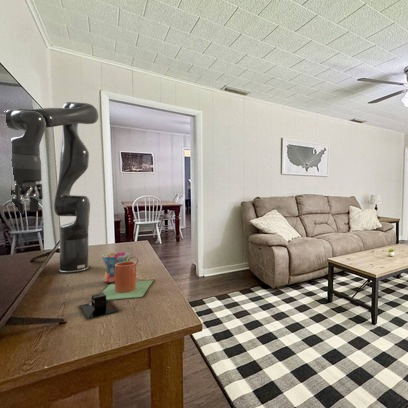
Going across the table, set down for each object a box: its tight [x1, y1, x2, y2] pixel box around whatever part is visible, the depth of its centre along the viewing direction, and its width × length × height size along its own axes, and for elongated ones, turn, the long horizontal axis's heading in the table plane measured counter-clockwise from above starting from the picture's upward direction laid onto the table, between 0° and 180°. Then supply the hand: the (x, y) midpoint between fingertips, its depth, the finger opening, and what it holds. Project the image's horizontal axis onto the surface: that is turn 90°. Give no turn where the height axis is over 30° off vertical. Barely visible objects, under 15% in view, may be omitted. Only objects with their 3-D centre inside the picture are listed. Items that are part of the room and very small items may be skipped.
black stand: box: [80, 292, 119, 320], centre depth 90 cm, size 12×7×5 cm, turn 51°
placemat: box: [100, 279, 154, 301], centre depth 106 cm, size 18×14×1 cm
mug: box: [101, 252, 140, 284], centre depth 115 cm, size 12×9×11 cm
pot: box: [114, 261, 137, 293], centre depth 105 cm, size 6×6×10 cm
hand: (27, 212), depth 101 cm, fingers open, 8 cm apart
